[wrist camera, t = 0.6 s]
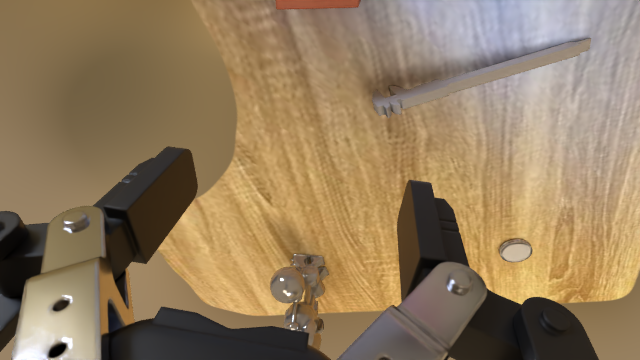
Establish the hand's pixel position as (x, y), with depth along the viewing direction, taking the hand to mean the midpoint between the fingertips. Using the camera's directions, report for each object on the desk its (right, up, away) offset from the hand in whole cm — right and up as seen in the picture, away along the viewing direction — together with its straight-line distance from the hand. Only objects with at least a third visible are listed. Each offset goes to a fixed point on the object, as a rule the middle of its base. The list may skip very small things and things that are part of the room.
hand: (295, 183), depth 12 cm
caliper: (+17, +12, +22) cm, 30 cm away
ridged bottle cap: (+29, -10, +34) cm, 46 cm away
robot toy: (-1, -13, +42) cm, 44 cm away
